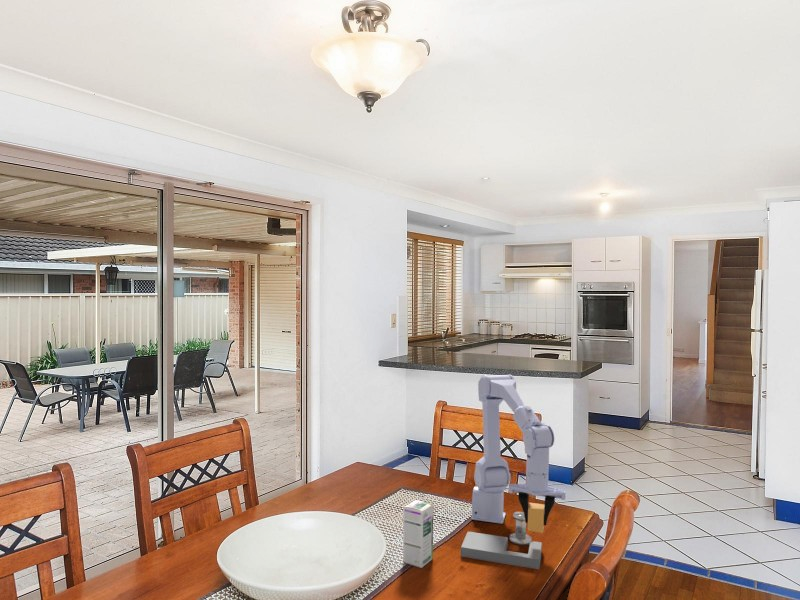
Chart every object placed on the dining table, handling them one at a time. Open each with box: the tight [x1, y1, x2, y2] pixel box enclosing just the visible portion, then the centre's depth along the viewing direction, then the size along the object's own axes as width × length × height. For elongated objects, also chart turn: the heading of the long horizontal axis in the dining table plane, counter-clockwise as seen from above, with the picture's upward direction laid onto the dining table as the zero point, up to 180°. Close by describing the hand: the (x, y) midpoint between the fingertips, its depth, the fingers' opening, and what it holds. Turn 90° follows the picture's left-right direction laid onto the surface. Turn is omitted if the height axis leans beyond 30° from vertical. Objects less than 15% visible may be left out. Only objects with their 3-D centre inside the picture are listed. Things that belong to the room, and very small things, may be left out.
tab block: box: [527, 502, 545, 534], centre depth 150 cm, size 4×4×6 cm
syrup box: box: [402, 499, 434, 569], centre depth 145 cm, size 6×6×14 cm
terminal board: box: [460, 531, 543, 570], centre depth 150 cm, size 20×10×2 cm, turn 73°
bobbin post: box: [509, 511, 533, 546], centre depth 158 cm, size 6×6×7 cm
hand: (535, 522), depth 149 cm, fingers closed on tab block, 4 cm apart
